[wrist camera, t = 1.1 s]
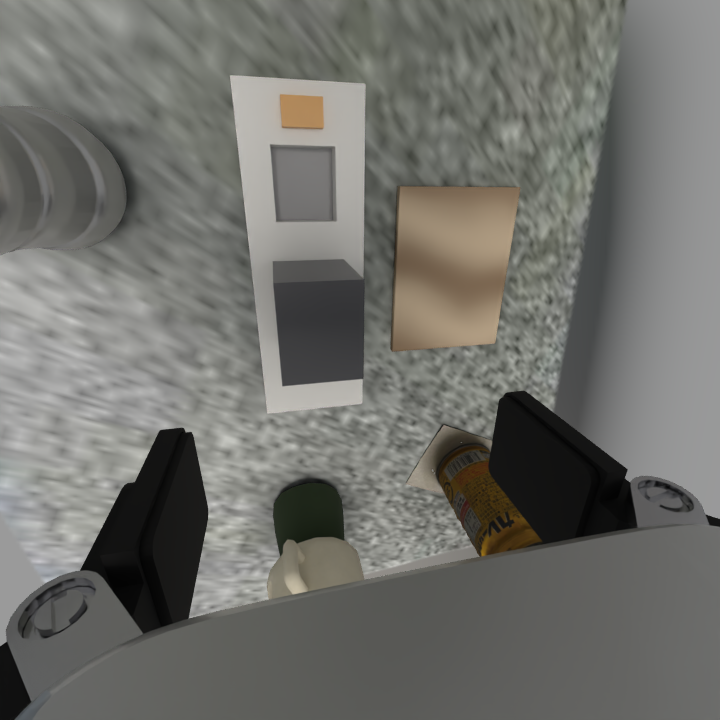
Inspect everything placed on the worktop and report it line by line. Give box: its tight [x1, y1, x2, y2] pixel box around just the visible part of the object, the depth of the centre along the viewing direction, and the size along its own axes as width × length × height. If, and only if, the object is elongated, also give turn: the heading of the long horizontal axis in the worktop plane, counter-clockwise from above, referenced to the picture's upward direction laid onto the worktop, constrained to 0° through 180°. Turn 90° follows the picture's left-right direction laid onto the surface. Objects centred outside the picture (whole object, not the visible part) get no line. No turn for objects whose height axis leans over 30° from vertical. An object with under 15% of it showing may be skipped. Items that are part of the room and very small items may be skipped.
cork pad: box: [391, 186, 520, 352], centre depth 29 cm, size 12×9×1 cm
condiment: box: [406, 425, 544, 557], centre depth 32 cm, size 7×8×12 cm
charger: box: [273, 259, 364, 386], centre depth 23 cm, size 6×4×7 cm
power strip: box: [230, 75, 365, 414], centre depth 25 cm, size 20×7×4 cm, turn 0°
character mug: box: [267, 483, 364, 600], centre depth 30 cm, size 11×7×13 cm, turn 19°
